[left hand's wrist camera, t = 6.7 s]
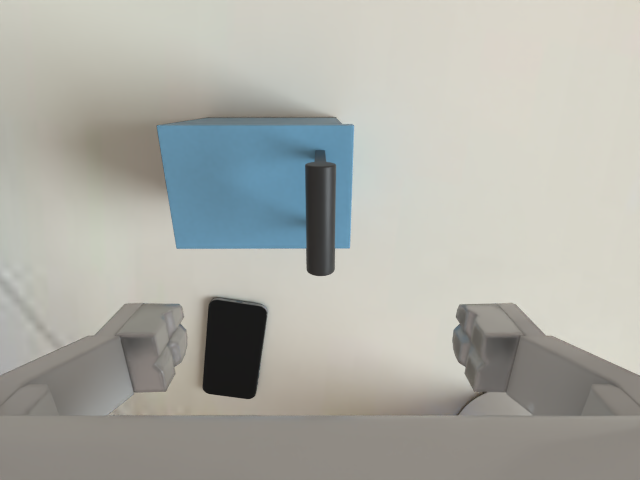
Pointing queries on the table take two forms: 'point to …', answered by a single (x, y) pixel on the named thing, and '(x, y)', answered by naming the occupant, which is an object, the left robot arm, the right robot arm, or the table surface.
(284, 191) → the lid
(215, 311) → the smartphone
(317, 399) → the table surface
